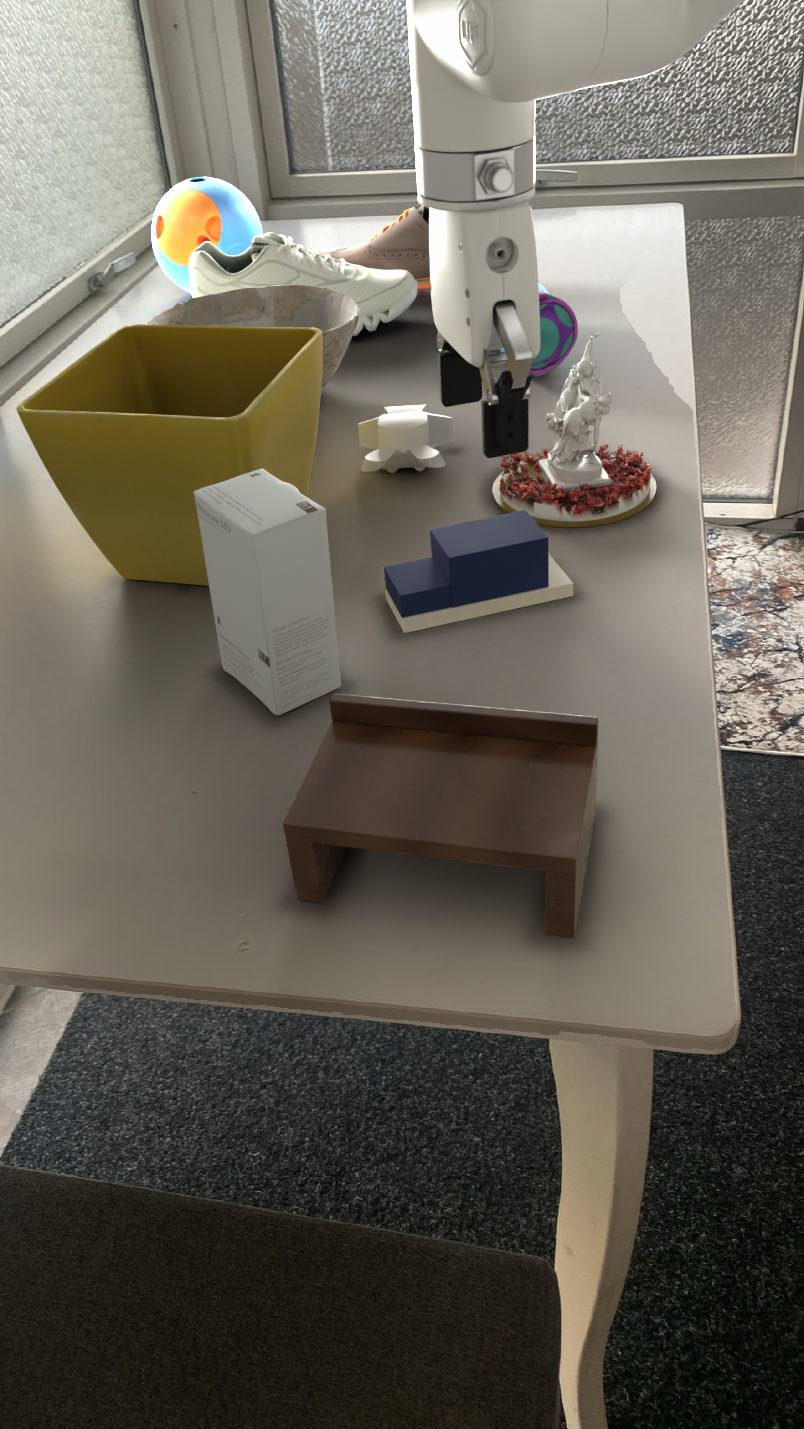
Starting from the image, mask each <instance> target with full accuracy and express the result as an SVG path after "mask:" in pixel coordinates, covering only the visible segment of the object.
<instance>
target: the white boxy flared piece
mask: <svg viewBox="0 0 804 1429" xmlns="http://www.w3.org/2000/svg"><path fill="white" fill-rule="evenodd" d="M383 409H384V410H383V411H384V414H380V416H378V417H374V418H371V419H368V420H365V421H361V422H358V423H357V432H358V433H357V434H358V443H359V446H360V447H364V448H367V449H370V450H372V451H371V452H369V453H368V454H366V455H365V456H364V457H363V460H362V463H361V466H360V471H361V472H363V473H371V472H375V471H379V470H380V469H381V470H386V471H387V472H388V473H391V474H394V473H396V472H397V471H398V470H399V469H409V468H411V469H412V468H413V469H414V470H415V471H417V472H423V471H424V470H425V469H426V468H431V469H432V468H433V469H438V468H443V467H444V466H446V462H445V460H444V459H443V457H442V454H441V452H440V451H439V450H438V449H436V448H438V447H439V446H442V445H444V444H446V443H447V444H448V443H449V442H451V441H454V440H455V438H454V436H455V435H454V418H453V416H448V415H442V414H436V413H431V412H428V405H427V403H426V404H411V405H410V404H409V405H395V406H394V405H393V406H384V407H383Z"/></svg>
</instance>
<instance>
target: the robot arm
mask: <svg viewBox="0 0 804 1429" xmlns="http://www.w3.org/2000/svg"><path fill="white" fill-rule="evenodd" d="M744 1H745V0H406V15H407V31H408V32H407V33H408V50H409V66H410V67H409V68H410V83H411V97H412V98H411V100H412V115H413V116H412V117H413V133H414V134H413V135H414V154H415V173H416V189H417V202H418V203H419V205H422V206H425V207H427V208H430V215H429V250H430V284H431V288H430V297H431V308H432V316H433V321H434V324H435V327H436V329H437V335H436V346H437V349H438V351H439V352H440V353H437V360H438V362H437V363H438V379H439V397H440V403H441V405H442V406H443V407H445V408H450V407H455V406H456V407H457V406H462V405H466V404H473V403H478V402H480V401H481V402H480V408H481V409H480V410H481V447H482V454H483V456H485V458H487V459H493V458H499V457H503V456H505V457H506V456H507V455H508V456H510V454H517V453H518V454H522V453H524V452H525V451H526V452H527V450H529V444H530V442H529V440H530V438H529V436H530V434H529V432H530V431H529V430H530V428H529V425H530V424H529V422H530V421H529V419H530V418H529V416H530V414H529V413H530V412H529V411H530V410H529V408H530V407H529V403H530V401H529V400H530V398H531V384H532V381H533V376H531V375H530V374H531V372H530V371H531V366H532V362H533V358H535V357H536V356H537V355H538V353H539V351H540V313H539V288H538V282H539V273H538V272H539V269H538V259H537V258H538V256H537V254H538V253H537V245H536V244H537V243H536V235H535V234H536V233H535V227H534V226H535V225H534V219H533V214H532V207H531V203H530V201H529V200H531V199H532V198H533V197H534V196H535V195H536V122H535V120H536V101H538V100H544V99H548V98H551V97H556V96H563V95H566V94H571V93H573V92H575V91H579V90H585V89H588V88H594V87H598V86H603V85H610V84H615V83H619V82H626V81H630V80H635V79H640V78H643V77H647V76H649V75H651V74H654V73H656V72H658V71H661V70H663V69H665V68H667V67H668V66H670V65H671V64H673V63H675V62H676V61H678V60H679V59H681V58H682V57H684V56H685V55H686V54H687V53H688V52H690V51H692V49H693V48H694V47H696V46H697V45H698V44H699V43H700V42H701V41H703V39H705V37H706V36H708V35H709V34H710V33H711V32H712V31H713V30H714V29H716V28H717V26H718V25H719V24H721V23H722V22H723V21H724V20H725V19H726V18H727V17H728V16H729V15H730V14H732V13H733V11H734V10H735V9H736V8H737V7H739V5H741V4H742V3H743V2H744ZM502 348H504V349H505V352H496V353H490V354H488V353H487V352H489V351H495V350H499V349H502ZM502 367H506V370H503V371H501V373H500V374H499V377H498V379H497V381H496V377H495V372H494V369H497V368H502ZM483 391H484V395H485V398H486V399H485V400H482V399H483Z"/></svg>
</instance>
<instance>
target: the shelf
mask: <svg viewBox="0 0 804 1429" xmlns="http://www.w3.org/2000/svg"><path fill="white" fill-rule="evenodd" d="M328 702H329V703H328V704H329V709H330V716H331V723H330V725H329V727H328V729H327V732H326V734H325V735H324V738H323V739H322V742H321V744H320V746H319V748H318V750H317V752H316V754H315V756H314V758H313V760H312V762H311V764H310V767H309V769H308V770H307V772H306V774H305V777H304V779H303V781H302V782H301V785H300V787H299V789H298V790H297V793H296V796H295V797H294V799H293V801H292V803H291V806H290V808H289V810H288V812H287V814H286V816H285V818H284V820H283V822H282V828H283V833H284V838H285V844H286V849H287V854H288V860H289V864H290V869H291V874H292V879H293V886H294V889H295V890H294V891H295V895H296V900H299V901H305V902H313V903H319V904H323V903H324V902H325V899H326V897H327V894H328V891H329V889H330V887H331V884H332V882H333V880H334V878H335V874H336V872H337V870H338V867H339V865H340V863H341V860H342V858H343V855H344V853H345V850H346V848H354V849H362V850H369V851H378V852H386V853H394V854H403V855H411V856H418V857H427V858H435V859H444V860H450V861H459V862H468V863H477V864H483V865H491V866H498V867H499V866H500V867H508V868H515V869H522V870H523V869H525V870H533V871H538V872H539V871H540V872H544V894H545V895H544V933H545V934H546V935H553V936H560V937H567V938H575V936H576V931H577V926H578V919H579V913H580V908H581V907H580V906H581V902H582V901H581V900H582V895H583V890H584V884H585V878H586V873H587V866H588V861H589V854H590V849H591V843H592V836H593V832H594V825H595V820H596V819H595V818H596V809H597V806H596V805H597V780H598V752H599V725H600V724H599V722H600V718H599V717H598V716H592V715H581V714H580V715H579V714H569V713H559V712H558V713H557V712H547V711H536V710H535V711H533V710H524V709H523V710H522V709H511V708H500V707H490V706H478V705H466V704H456V703H447V702H433V701H422V700H410V699H399V698H398V699H397V698H389V697H377V696H366V695H355V694H344V693H332V694H331V696H330V698H329V700H328Z"/></svg>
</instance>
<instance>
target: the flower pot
mask: <svg viewBox="0 0 804 1429" xmlns="http://www.w3.org/2000/svg"><path fill="white" fill-rule="evenodd" d="M321 378H322V331H321V330H320V329H317V328H296V327H252V326H199V325H147V324H141V323H139V324H128V325H123V326H121V327H119V328H118V329H116V330H115V331H113V332H112V333H111V334H109V335H108V336H107V337H105V339H103V340H102V341H100V342H99V343H98V344H97V345H95V346H94V347H92V348H91V349H90V350H88V351H87V352H85V354H83V355H82V356H80V357H79V358H77V359H76V360H75V361H74V362H72V363H71V364H70V365H69V366H66V368H65V369H64V370H62V371H61V372H59V373H58V374H56V375H55V376H54V377H52V378H51V379H50V380H49V381H48V382H46V383H45V384H44V385H43V386H41V387H40V388H38V389H37V390H36V391H35V392H33V393H32V394H31V395H29V396H28V397H27V398H25V399H24V400H22V402H19V404H18V405H17V406H16V409H15V410H16V412H17V414H18V417H19V419H20V421H21V423H22V426H23V427H24V430H25V432H26V433H27V435H28V437H29V439H30V442H31V444H32V445H33V447H34V450H35V451H36V453H37V455H38V457H39V459H40V461H41V462H42V464H43V466H44V468H45V469H46V471H47V473H48V475H49V477H50V478H51V480H52V482H53V483H54V485H55V487H56V489H57V490H58V492H59V493H60V495H61V497H62V498H63V500H64V501H65V503H66V505H67V506H68V507H69V509H70V511H71V512H72V514H73V515H74V517H75V519H76V520H77V521H78V522H79V524H80V526H82V528H83V529H84V531H85V532H86V534H87V535H88V536H89V538H90V539H91V541H92V542H93V543H94V544H95V546H96V547H97V548H98V550H99V551H100V552H101V554H102V555H103V556H104V557H105V559H106V560H107V561H108V563H109V564H110V565H111V566H112V567H113V568H114V569H115V570H116V572H117V573H118V575H119V576H121V577H122V578H124V579H126V580H127V579H128V580H139V581H150V582H158V583H159V582H161V583H170V584H171V583H172V584H182V585H183V584H185V585H197V586H207V587H209V582H208V575H207V569H206V563H205V557H204V550H203V544H202V538H201V532H200V526H199V520H198V514H197V508H196V502H195V496H194V491H196V490H198V489H201V488H204V487H207V486H210V485H214V484H217V483H220V482H223V481H226V480H229V479H232V478H234V477H237V476H240V475H243V474H246V473H249V472H252V471H255V470H258V469H264V470H265V471H267V472H268V473H270V474H271V475H273V476H274V477H276V478H277V479H279V480H280V481H282V482H286V483H289V484H291V485H293V486H295V487H296V488H297V489H298V490H299V492H300V493H301V494H302V495H304V496H305V497H307V495H308V490H309V485H310V480H311V474H312V469H313V463H314V457H315V451H316V444H317V435H318V427H319V417H320V409H321V408H320V406H321V394H322V389H321Z"/></svg>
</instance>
